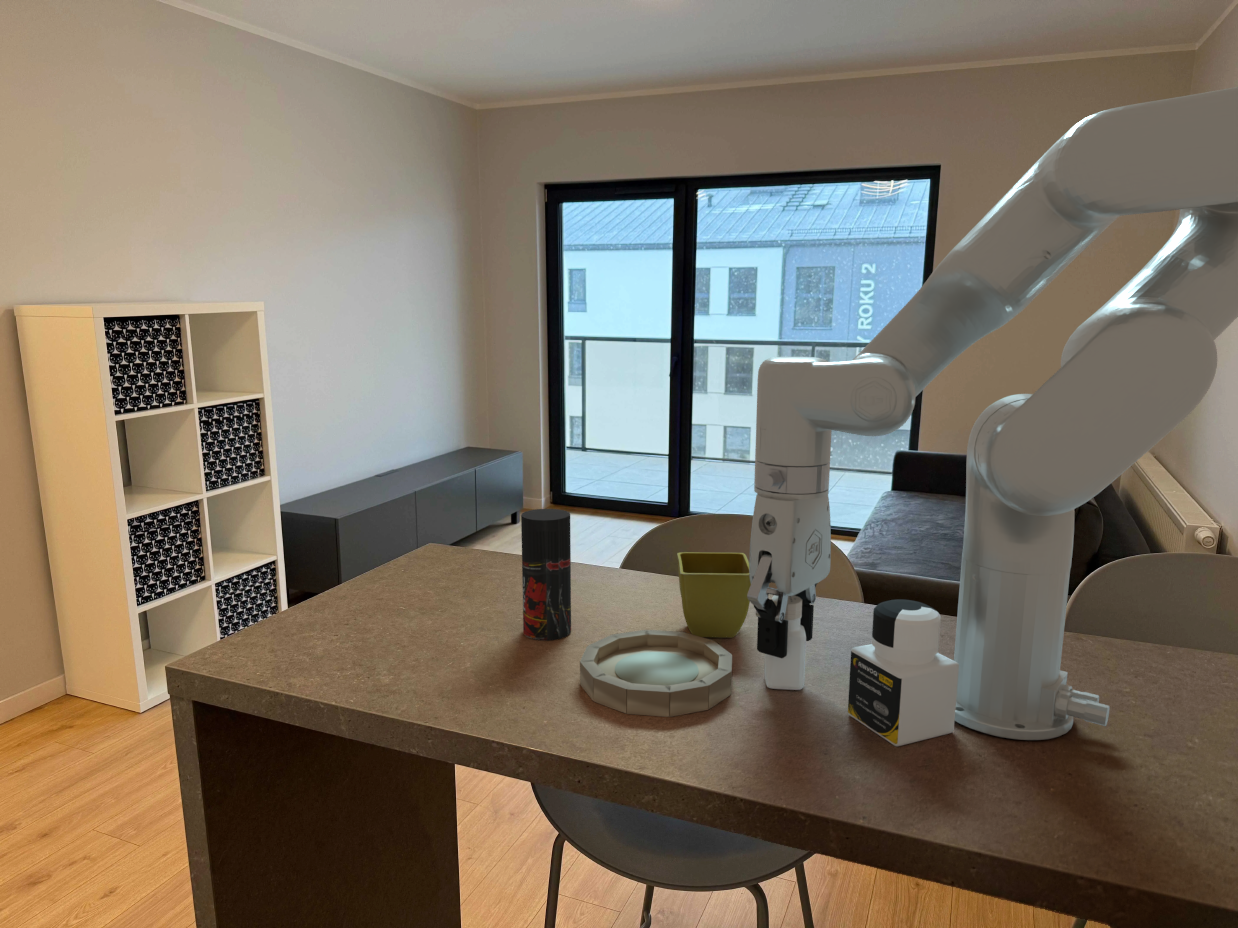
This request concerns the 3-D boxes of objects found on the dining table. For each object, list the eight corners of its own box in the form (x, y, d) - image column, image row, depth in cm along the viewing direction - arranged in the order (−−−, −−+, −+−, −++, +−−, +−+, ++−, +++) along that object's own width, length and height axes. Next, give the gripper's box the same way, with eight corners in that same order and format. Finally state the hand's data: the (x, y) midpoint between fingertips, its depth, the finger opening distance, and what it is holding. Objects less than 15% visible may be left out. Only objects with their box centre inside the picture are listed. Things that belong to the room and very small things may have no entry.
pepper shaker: (800, 676, 92) (804, 593, 90) (804, 692, 88) (808, 605, 86) (763, 674, 92) (766, 591, 91) (765, 690, 88) (768, 604, 87)
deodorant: (580, 633, 104) (579, 515, 101) (537, 644, 101) (536, 522, 98) (556, 619, 109) (554, 506, 106) (514, 628, 105) (512, 512, 103)
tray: (758, 675, 92) (759, 653, 91) (675, 731, 80) (675, 706, 79) (641, 640, 102) (642, 620, 101) (551, 685, 89) (551, 662, 89)
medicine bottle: (846, 714, 83) (852, 599, 81) (902, 701, 86) (910, 589, 84) (895, 748, 77) (904, 623, 75) (955, 733, 80) (965, 612, 77)
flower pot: (752, 645, 100) (754, 573, 99) (679, 644, 101) (680, 572, 99) (743, 619, 109) (745, 552, 107) (675, 618, 109) (676, 551, 108)
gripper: (785, 497, 77) (778, 682, 80) (860, 470, 90) (851, 630, 94) (715, 486, 82) (711, 662, 85) (796, 462, 95) (790, 615, 98)
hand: (785, 643), depth 89 cm, fingers closed on pepper shaker, 5 cm apart
